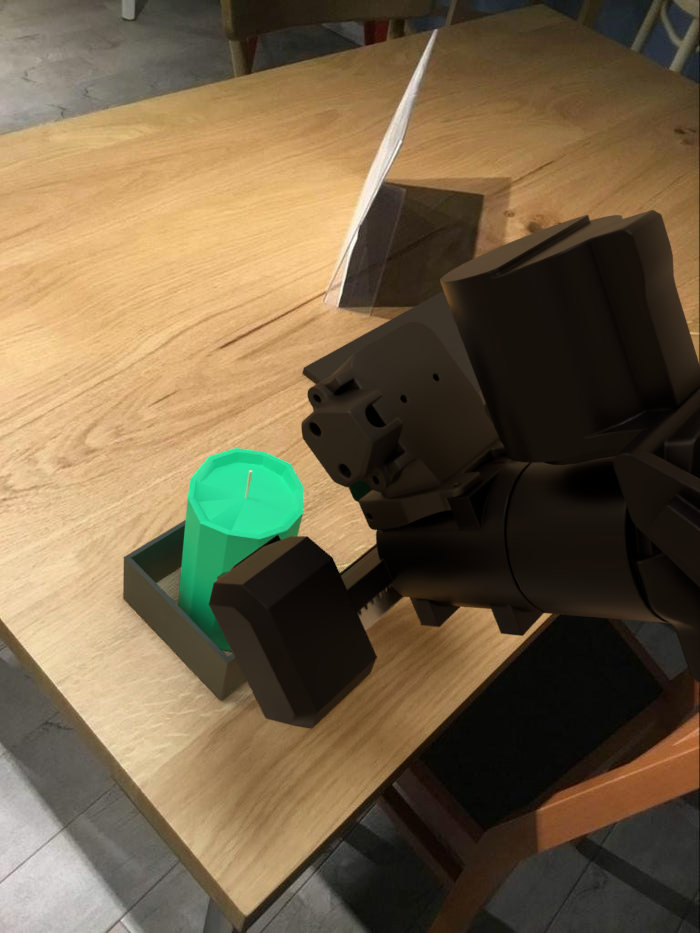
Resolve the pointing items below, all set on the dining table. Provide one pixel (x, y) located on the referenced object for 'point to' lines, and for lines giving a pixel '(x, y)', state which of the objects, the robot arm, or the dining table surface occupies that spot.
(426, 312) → the mat
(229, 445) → the dining table surface
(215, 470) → the candle
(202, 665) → the dark grey square tray
